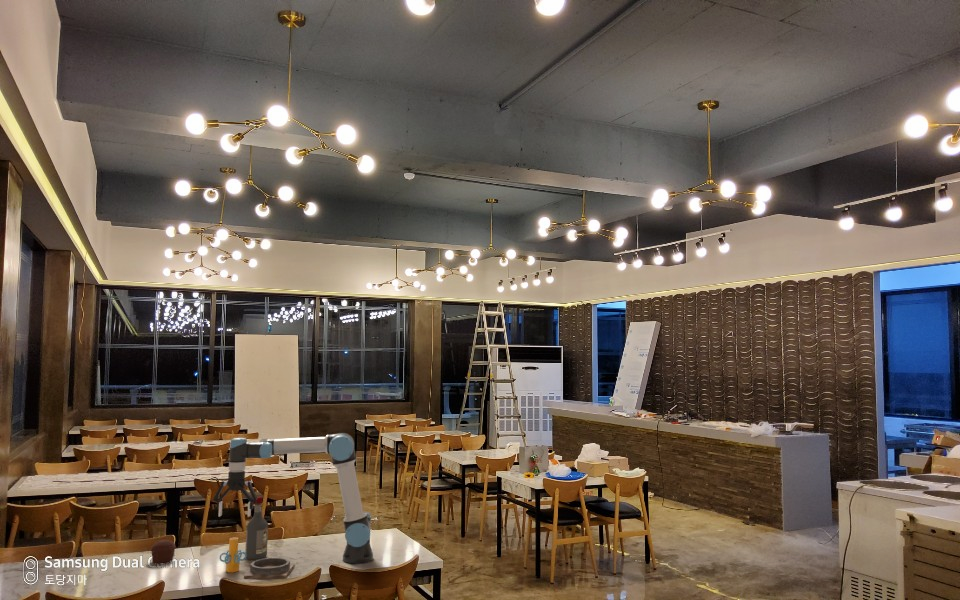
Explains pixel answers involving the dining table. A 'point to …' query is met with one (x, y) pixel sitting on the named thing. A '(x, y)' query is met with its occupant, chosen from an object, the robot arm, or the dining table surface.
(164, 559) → the muffin
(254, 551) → the liquor
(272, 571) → the holder
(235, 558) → the orange post with loops
